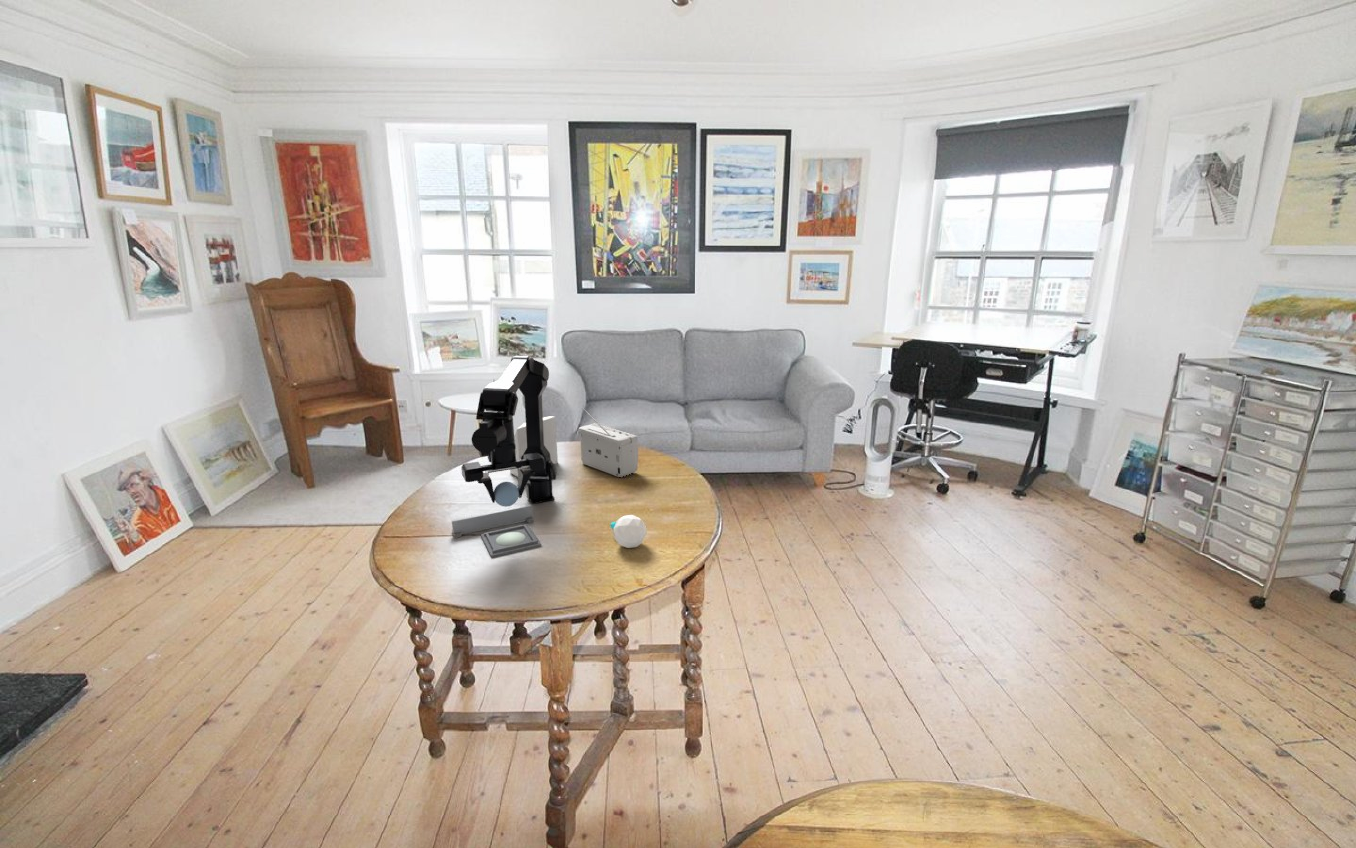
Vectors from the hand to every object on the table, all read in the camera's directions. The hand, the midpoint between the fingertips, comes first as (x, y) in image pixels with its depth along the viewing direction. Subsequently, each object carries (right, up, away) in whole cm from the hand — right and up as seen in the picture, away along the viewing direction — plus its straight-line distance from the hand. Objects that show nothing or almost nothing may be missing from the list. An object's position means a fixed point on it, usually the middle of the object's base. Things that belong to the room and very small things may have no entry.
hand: (506, 499), depth 144 cm
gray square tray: (0, -11, +3) cm, 11 cm away
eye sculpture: (-6, +4, +52) cm, 53 cm away
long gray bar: (-6, -8, +11) cm, 15 cm away
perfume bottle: (+29, -11, +3) cm, 31 cm away
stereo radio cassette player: (+19, +3, +51) cm, 54 cm away
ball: (0, -1, 0) cm, 2 cm away
